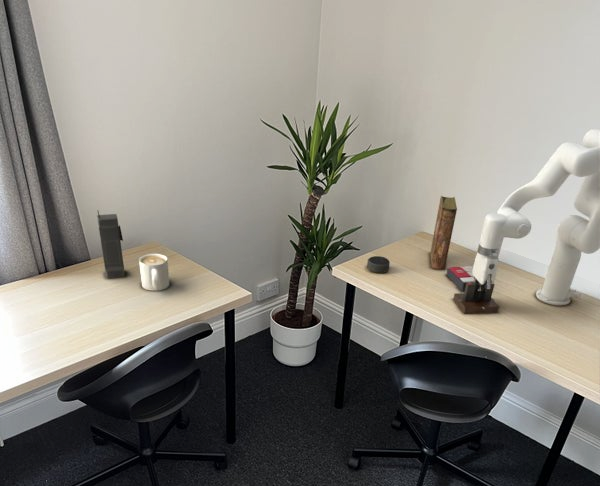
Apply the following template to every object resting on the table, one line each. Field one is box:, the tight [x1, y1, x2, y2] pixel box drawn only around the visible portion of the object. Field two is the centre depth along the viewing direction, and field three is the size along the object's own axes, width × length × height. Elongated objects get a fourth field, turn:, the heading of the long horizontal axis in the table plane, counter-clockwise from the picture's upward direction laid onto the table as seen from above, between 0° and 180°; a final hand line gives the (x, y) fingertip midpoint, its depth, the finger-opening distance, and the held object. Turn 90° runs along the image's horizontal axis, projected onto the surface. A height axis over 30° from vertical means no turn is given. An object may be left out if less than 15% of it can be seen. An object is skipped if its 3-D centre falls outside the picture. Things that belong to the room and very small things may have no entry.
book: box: [429, 195, 458, 271], centre depth 247 cm, size 16×6×25 cm, turn 172°
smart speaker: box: [366, 255, 391, 274], centre depth 244 cm, size 9×9×4 cm
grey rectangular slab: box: [463, 282, 496, 301], centre depth 220 cm, size 10×2×7 cm, turn 99°
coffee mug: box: [138, 253, 170, 292], centre depth 221 cm, size 13×10×10 cm
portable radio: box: [96, 211, 126, 279], centre depth 223 cm, size 8×6×25 cm
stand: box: [452, 292, 500, 315], centre depth 223 cm, size 14×14×3 cm
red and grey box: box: [446, 265, 486, 292], centre depth 238 cm, size 11×4×15 cm
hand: (477, 297), depth 222 cm, fingers closed
